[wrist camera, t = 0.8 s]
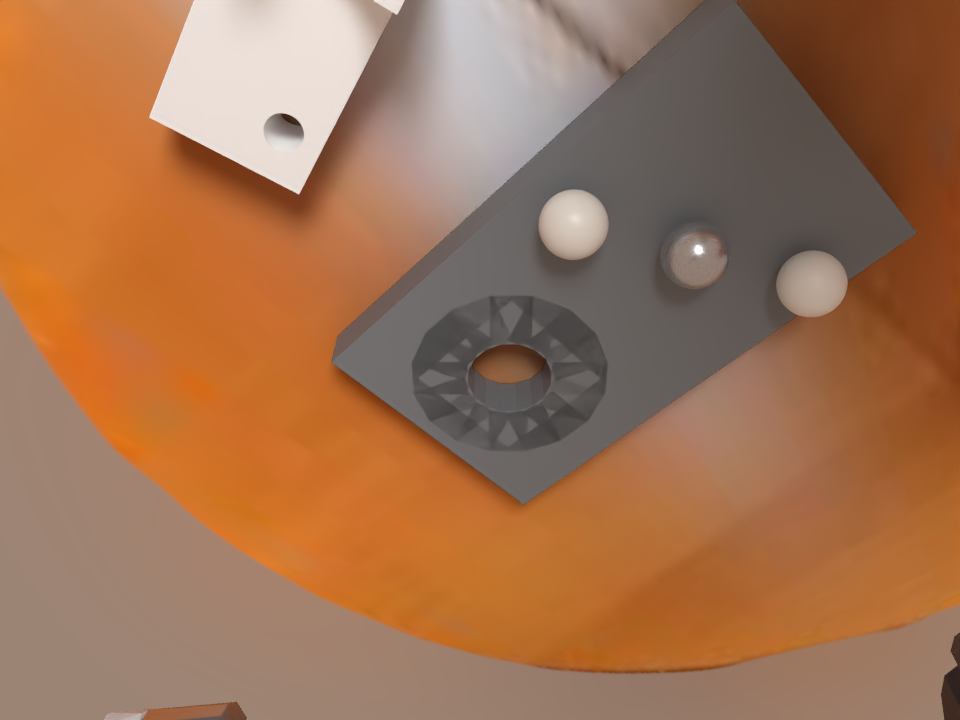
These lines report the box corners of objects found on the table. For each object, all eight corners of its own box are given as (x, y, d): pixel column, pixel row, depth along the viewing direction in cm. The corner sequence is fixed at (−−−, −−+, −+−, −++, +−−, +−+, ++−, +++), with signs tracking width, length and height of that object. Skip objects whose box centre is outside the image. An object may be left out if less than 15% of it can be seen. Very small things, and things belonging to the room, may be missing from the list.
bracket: (283, -192, 34) (239, -175, 28) (440, -89, 36) (431, -53, 30) (172, 90, 41) (117, 153, 35) (311, 163, 43) (282, 235, 37)
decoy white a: (811, 225, 42) (833, 258, 39) (847, 267, 43) (870, 301, 40) (755, 267, 43) (773, 301, 40) (791, 306, 44) (811, 341, 42)
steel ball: (695, 195, 41) (709, 227, 38) (735, 239, 42) (751, 272, 39) (641, 238, 42) (652, 272, 39) (682, 279, 43) (694, 314, 41)
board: (721, -15, 38) (734, 0, 36) (897, 209, 44) (917, 232, 42) (337, 335, 48) (331, 362, 46) (522, 475, 55) (523, 504, 53)
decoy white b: (573, 164, 40) (579, 194, 37) (618, 209, 41) (627, 241, 39) (522, 209, 41) (525, 241, 39) (567, 251, 42) (573, 285, 40)
